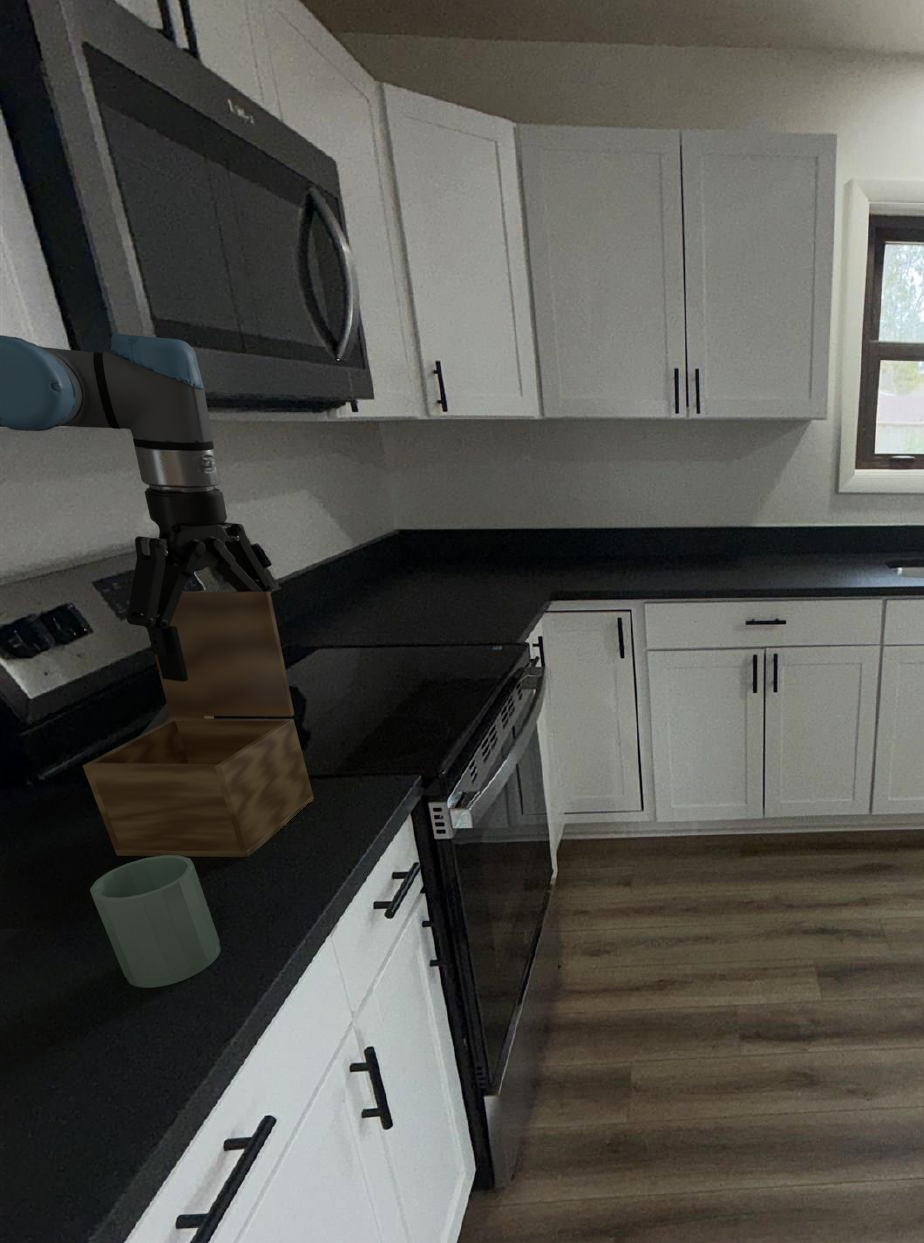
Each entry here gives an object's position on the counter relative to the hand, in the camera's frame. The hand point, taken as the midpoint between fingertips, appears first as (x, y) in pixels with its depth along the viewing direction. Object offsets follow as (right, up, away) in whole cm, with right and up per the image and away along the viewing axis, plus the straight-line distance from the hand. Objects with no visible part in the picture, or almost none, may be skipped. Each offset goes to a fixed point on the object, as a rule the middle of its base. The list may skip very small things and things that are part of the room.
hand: (218, 663), depth 102 cm
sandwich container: (-21, -14, +20) cm, 32 cm away
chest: (-3, -21, +5) cm, 22 cm away
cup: (+10, -33, -21) cm, 40 cm away
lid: (-3, +1, +3) cm, 4 cm away
